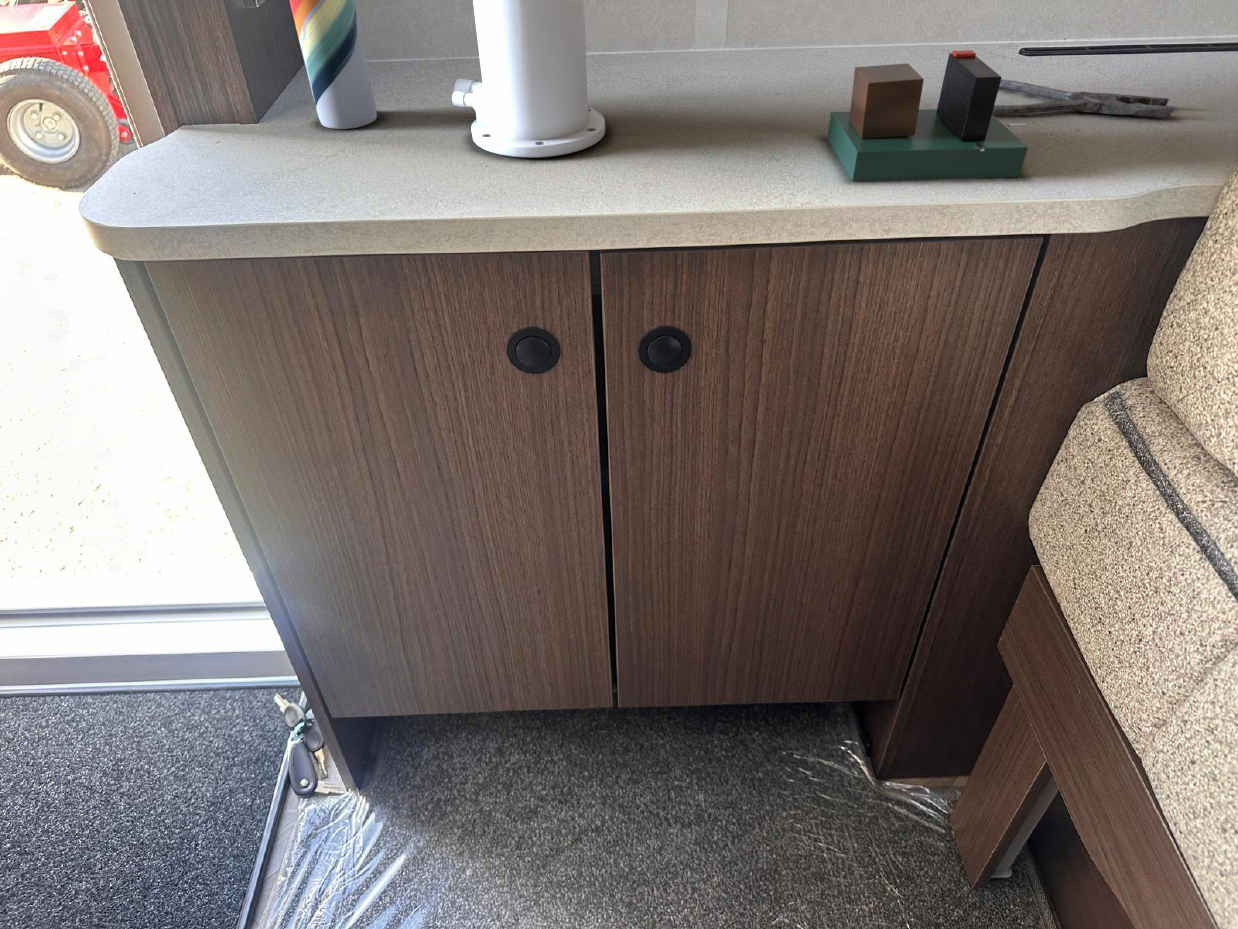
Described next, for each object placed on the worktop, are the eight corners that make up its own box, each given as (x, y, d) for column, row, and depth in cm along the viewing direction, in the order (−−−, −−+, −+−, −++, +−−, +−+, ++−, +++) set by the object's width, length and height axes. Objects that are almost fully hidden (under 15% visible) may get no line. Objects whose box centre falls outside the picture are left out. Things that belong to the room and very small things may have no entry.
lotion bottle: (316, 116, 85) (256, -124, 72) (372, 107, 86) (324, -128, 74) (324, 133, 81) (263, -117, 68) (383, 124, 82) (334, -122, 70)
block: (860, 139, 70) (867, 82, 67) (848, 121, 73) (854, 66, 70) (915, 135, 70) (924, 78, 67) (900, 117, 73) (908, 62, 70)
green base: (853, 184, 69) (859, 152, 67) (825, 137, 78) (829, 107, 76) (1041, 179, 69) (1051, 147, 67) (993, 132, 78) (1001, 102, 76)
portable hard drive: (985, 140, 69) (1002, 73, 66) (960, 141, 69) (977, 74, 66) (958, 113, 74) (973, 49, 71) (935, 113, 74) (949, 50, 71)
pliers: (943, 75, 88) (1143, 77, 86) (941, 84, 89) (1140, 86, 86) (960, 105, 81) (1180, 108, 79) (958, 114, 81) (1176, 117, 79)
